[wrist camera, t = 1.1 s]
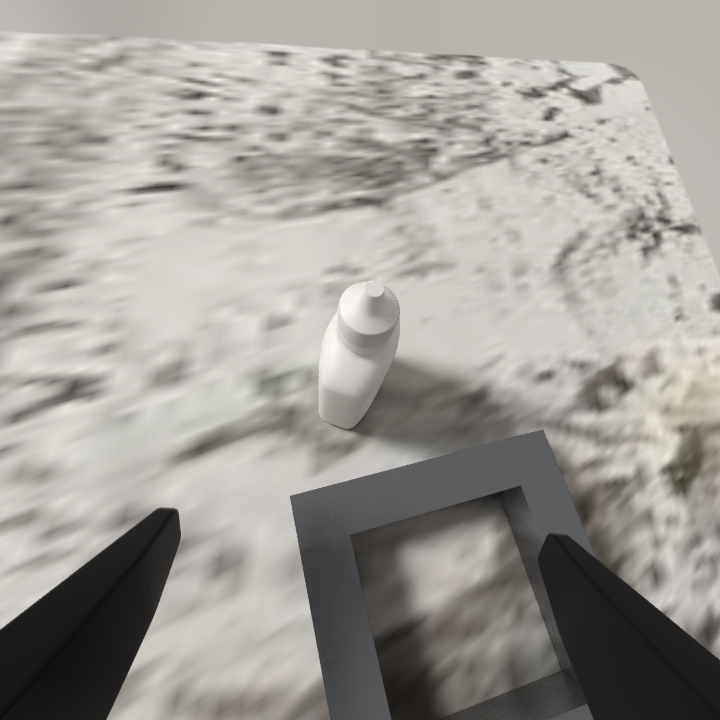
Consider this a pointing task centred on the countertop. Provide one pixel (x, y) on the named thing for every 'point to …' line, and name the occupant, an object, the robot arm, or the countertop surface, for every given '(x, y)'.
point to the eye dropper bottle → (357, 352)
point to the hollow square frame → (415, 497)
